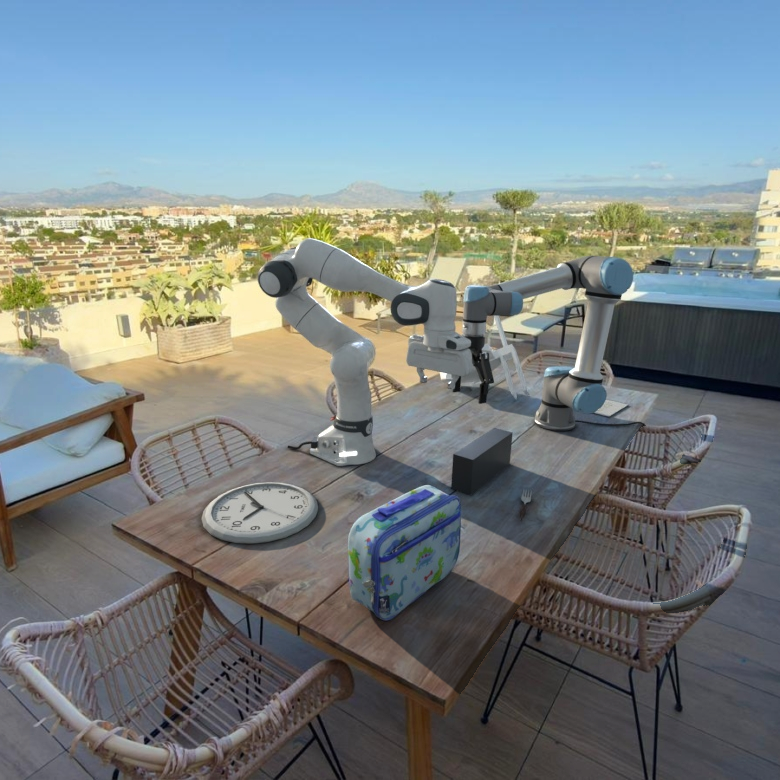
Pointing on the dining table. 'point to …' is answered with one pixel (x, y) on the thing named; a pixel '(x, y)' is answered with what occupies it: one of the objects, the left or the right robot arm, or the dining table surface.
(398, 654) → the dining table surface
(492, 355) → the white plastic object
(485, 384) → the right robot arm
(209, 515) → the wall clock
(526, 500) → the fork
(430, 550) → the lunch box
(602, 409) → the invitation card
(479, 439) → the box
